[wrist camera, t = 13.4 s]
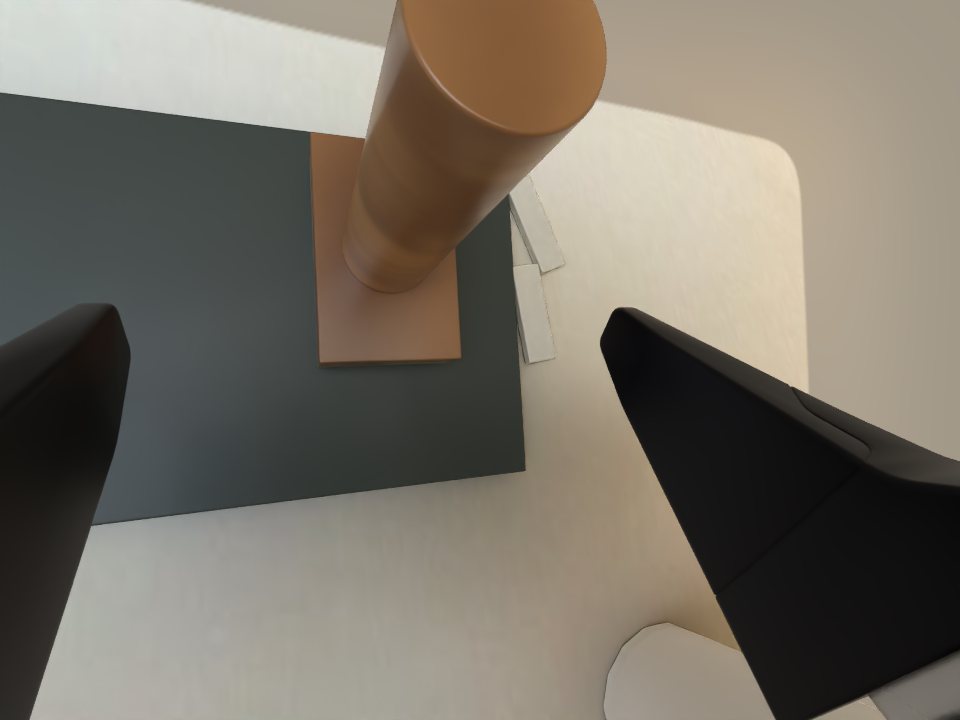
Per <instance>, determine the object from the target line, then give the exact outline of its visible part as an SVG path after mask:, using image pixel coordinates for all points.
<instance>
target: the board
mask: <svg viewBox="0 0 960 720" xmlns="http://www.w3.org/2000/svg"><path fill="white" fill-rule="evenodd" d="M310 133H311V132H307V131H299V130H291V129H283V128H275V127H267V126H259V125H251V124H244V123H236V122H228V121H220V120H212V119H204V118H196V117H189V116H181V115H173V114H165V113H157V112H149V111H141V110H133V109H126V108H118V107H110V106H102V105H94V104H86V103H78V102H71V101H63V100H55V99H47V98H39V97H31V96H23V95H15V94H8V93H0V346H2V345H4V344H5V343H7V342H9V341H11V340H13V339H15V338H16V337H18V336H20V335H22V334H24V333H26V332H27V331H29V330H31V329H33V328H35V327H37V326H38V325H40V324H42V323H44V322H46V321H48V320H49V319H51V318H53V317H55V316H57V315H59V314H60V313H62V312H64V311H66V310H68V309H70V308H71V307H73V306H75V305H77V304H80V303H109V304H112V305H114V306H115V307H116V309H117V310H118V312H119V315H120V318H121V321H122V324H123V327H124V330H125V334H126V337H127V340H128V343H129V346H130V351H131V362H130V368H129V374H128V380H127V387H126V393H125V399H124V405H123V411H122V418H121V424H120V430H119V435H118V440H117V445H116V449H115V452H114V456H113V459H112V462H111V465H110V469H109V472H108V475H107V478H106V481H105V484H104V487H103V491H102V494H101V497H100V500H99V503H98V506H97V509H96V512H95V516H94V519H93V522H92V525H91V526H94V525H102V524H110V523H118V522H126V521H134V520H142V519H150V518H157V517H165V516H173V515H181V514H189V513H197V512H205V511H213V510H221V509H229V508H237V507H244V506H252V505H260V504H268V503H276V502H284V501H292V500H300V499H308V498H316V497H324V496H331V495H339V494H347V493H355V492H363V491H371V490H379V489H387V488H395V487H403V486H411V485H418V484H426V483H434V482H442V481H450V480H458V479H466V478H474V477H482V476H490V475H498V474H505V473H513V472H521V471H525V470H526V468H525V452H524V435H523V419H522V403H521V387H520V370H519V354H518V338H517V322H516V306H515V289H514V273H513V257H512V241H511V225H510V208H509V194H508V195H507V196H506V197H505V198H504V199H503V200H502V201H501V202H500V203H499V204H498V205H497V206H496V207H495V208H494V209H493V210H492V211H491V212H490V213H489V214H488V215H487V216H486V217H485V218H484V219H483V220H482V221H481V222H480V223H479V224H478V225H477V226H476V227H475V228H474V229H473V230H472V231H471V232H470V233H469V234H468V235H467V236H466V237H465V238H464V239H463V240H462V241H461V242H460V243H459V244H458V245H457V246H456V247H455V255H456V272H457V290H458V308H459V326H460V344H461V359H458V360H454V361H450V362H446V363H428V364H402V365H375V366H349V367H322V368H320V367H318V365H317V339H316V313H315V287H314V261H313V235H312V208H311V182H310Z"/></svg>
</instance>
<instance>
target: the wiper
mask: <svg viewBox="0 0 960 720" xmlns="http://www.w3.org/2000/svg"><path fill="white" fill-rule="evenodd" d="M606 61H607V58H606V42H605V35H604V30H603V26H602V22H601V19H600V16H599V13H598V11H597V8H596V6H595V4H594V1H593V0H397V2H396V7H395V11H394V15H393V20H392V24H391V29H390V33H389V37H388V42H387V46H386V50H385V55H384V59H383V64H382V68H381V72H380V77H379V81H378V85H377V90H376V94H375V99H374V103H373V107H372V112H371V116H370V121H369V125H368V129H367V134H366V138H365V139H364V138H356V137H348V136H340V135H332V134H324V133H316V132H311V133H310V182H311V208H312V235H313V261H314V287H315V313H316V339H317V365H318V367H320V368H322V367H349V366H375V365H402V364H428V363H446V362H450V361H454V360H458V359H461V344H460V326H459V308H458V290H457V272H456V255H455V247H456V246H457V245H458V244H459V243H460V242H461V241H462V240H463V239H464V238H465V237H466V236H467V235H468V234H469V233H470V232H471V231H472V230H473V229H474V228H475V227H476V226H477V225H478V224H479V223H480V222H481V221H482V220H483V219H484V218H485V217H486V216H487V215H488V214H489V213H490V212H491V211H492V210H493V209H494V208H495V207H496V206H497V205H498V204H499V203H500V202H501V201H502V200H503V199H504V198H505V197H506V196H507V195H508V194H509V193H510V192H511V191H512V190H513V189H514V188H515V187H516V186H517V185H518V183H519V182H520V181H521V180H522V179H523V178H524V177H525V176H526V175H527V174H528V173H529V172H530V171H531V170H532V169H533V168H534V167H535V166H536V165H537V164H538V163H539V162H540V161H541V160H542V159H543V158H544V157H545V156H546V155H547V154H548V153H549V152H550V151H551V150H552V149H553V148H554V147H555V146H556V145H557V144H558V143H559V142H560V141H561V140H562V139H563V138H564V137H565V136H566V135H567V134H568V133H569V132H570V131H571V130H572V129H573V128H574V127H575V126H576V125H577V124H578V123H579V122H580V121H581V120H582V119H583V118H584V117H585V116H586V114H587V113H588V112H589V111H590V109H591V108H592V107H593V105H594V103H595V101H596V100H597V98H598V95H599V92H600V90H601V88H602V84H603V80H604V76H605V70H606Z"/></svg>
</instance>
